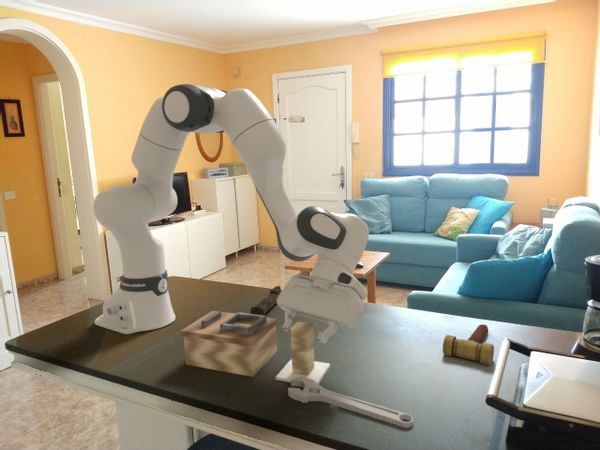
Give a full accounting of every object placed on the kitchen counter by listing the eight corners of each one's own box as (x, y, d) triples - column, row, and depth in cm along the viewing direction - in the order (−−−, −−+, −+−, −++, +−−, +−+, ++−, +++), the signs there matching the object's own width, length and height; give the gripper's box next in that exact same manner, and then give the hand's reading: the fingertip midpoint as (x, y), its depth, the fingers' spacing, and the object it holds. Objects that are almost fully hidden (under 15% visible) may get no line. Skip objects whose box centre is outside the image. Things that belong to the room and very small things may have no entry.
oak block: (292, 372, 93) (290, 327, 92) (299, 364, 97) (297, 321, 95) (308, 375, 92) (306, 330, 90) (314, 367, 95) (313, 323, 94)
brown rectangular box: (184, 365, 100) (180, 324, 98) (214, 341, 111) (212, 304, 109) (253, 377, 93) (251, 334, 91) (278, 351, 105) (277, 312, 103)
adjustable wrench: (415, 424, 77) (416, 415, 77) (400, 444, 72) (400, 434, 72) (299, 381, 92) (299, 373, 91) (280, 396, 87) (280, 387, 86)
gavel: (465, 313, 116) (507, 321, 111) (464, 330, 117) (506, 338, 111) (442, 338, 99) (490, 348, 94) (441, 357, 100) (489, 369, 94)
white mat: (275, 379, 92) (275, 376, 92) (292, 360, 100) (292, 357, 100) (316, 387, 89) (316, 384, 89) (330, 366, 97) (330, 363, 97)
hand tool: (263, 321, 124) (262, 305, 123) (250, 319, 125) (249, 303, 125) (288, 299, 141) (288, 285, 141) (277, 297, 143) (276, 283, 142)
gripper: (287, 265, 103) (259, 318, 98) (363, 280, 90) (336, 342, 85) (300, 279, 107) (274, 330, 102) (374, 295, 94) (349, 355, 89)
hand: (303, 336), depth 93 cm, fingers open, 8 cm apart
